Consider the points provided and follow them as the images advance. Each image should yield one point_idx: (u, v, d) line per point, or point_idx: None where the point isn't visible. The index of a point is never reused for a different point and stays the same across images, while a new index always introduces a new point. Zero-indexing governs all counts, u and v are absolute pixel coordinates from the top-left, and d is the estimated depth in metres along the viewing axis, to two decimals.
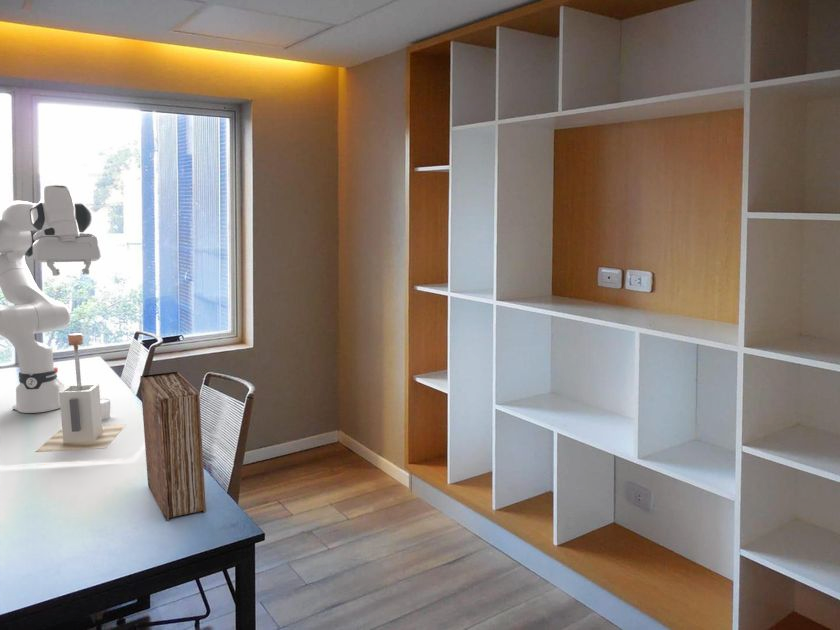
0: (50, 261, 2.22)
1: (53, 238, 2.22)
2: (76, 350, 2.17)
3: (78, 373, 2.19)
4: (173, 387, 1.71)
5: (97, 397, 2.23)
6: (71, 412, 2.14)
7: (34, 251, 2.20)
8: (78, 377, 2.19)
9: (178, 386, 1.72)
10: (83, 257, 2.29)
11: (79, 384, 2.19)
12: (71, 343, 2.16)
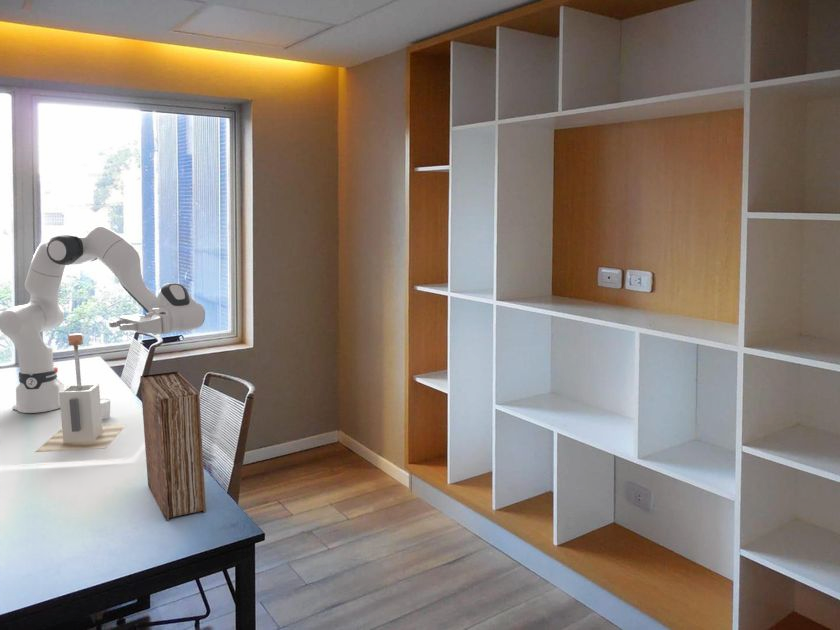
0: (136, 329, 2.23)
1: None
2: (76, 350, 2.17)
3: (78, 373, 2.19)
4: (173, 387, 1.71)
5: (97, 397, 2.23)
6: (71, 412, 2.14)
7: (151, 325, 2.23)
8: (78, 377, 2.19)
9: (178, 386, 1.72)
10: None
11: (79, 384, 2.19)
12: (71, 343, 2.16)
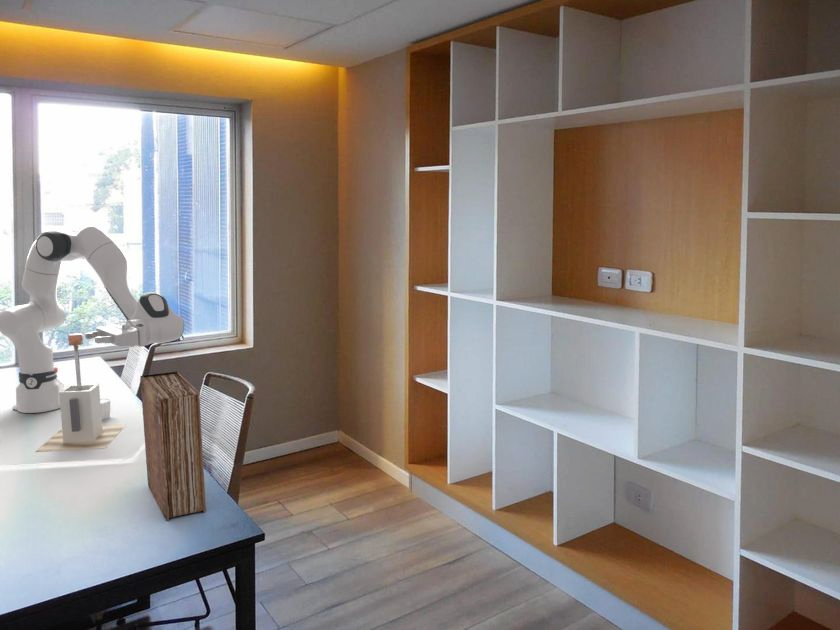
0: (111, 342, 2.19)
1: None
2: (76, 350, 2.17)
3: (78, 373, 2.19)
4: (173, 387, 1.71)
5: (97, 397, 2.23)
6: (71, 412, 2.14)
7: (127, 338, 2.18)
8: (78, 377, 2.19)
9: (178, 386, 1.72)
10: None
11: (79, 384, 2.19)
12: (71, 343, 2.16)
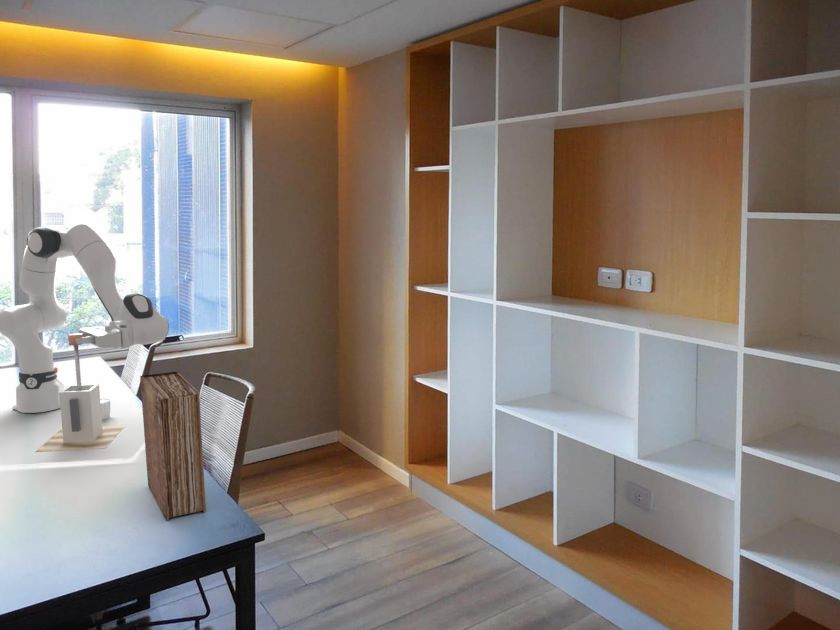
0: (91, 343, 2.17)
1: None
2: (76, 350, 2.17)
3: (78, 373, 2.19)
4: (173, 387, 1.71)
5: (97, 397, 2.23)
6: (71, 412, 2.14)
7: (110, 339, 2.15)
8: (78, 377, 2.19)
9: (178, 386, 1.72)
10: None
11: (79, 384, 2.19)
12: (71, 343, 2.16)
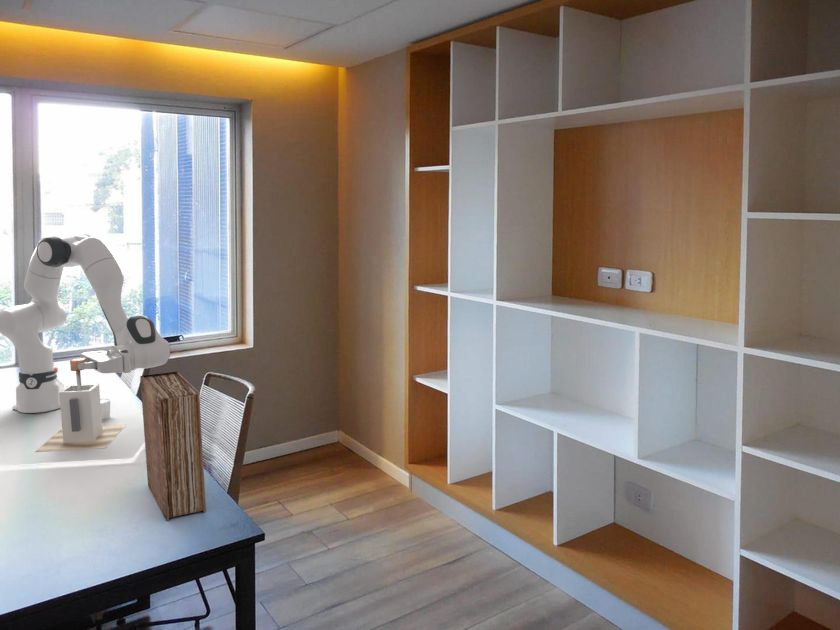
0: (93, 368, 2.18)
1: None
2: (78, 375, 2.19)
3: None
4: (173, 387, 1.71)
5: (97, 397, 2.23)
6: (71, 412, 2.14)
7: (112, 365, 2.16)
8: None
9: (178, 386, 1.72)
10: None
11: None
12: (73, 369, 2.17)
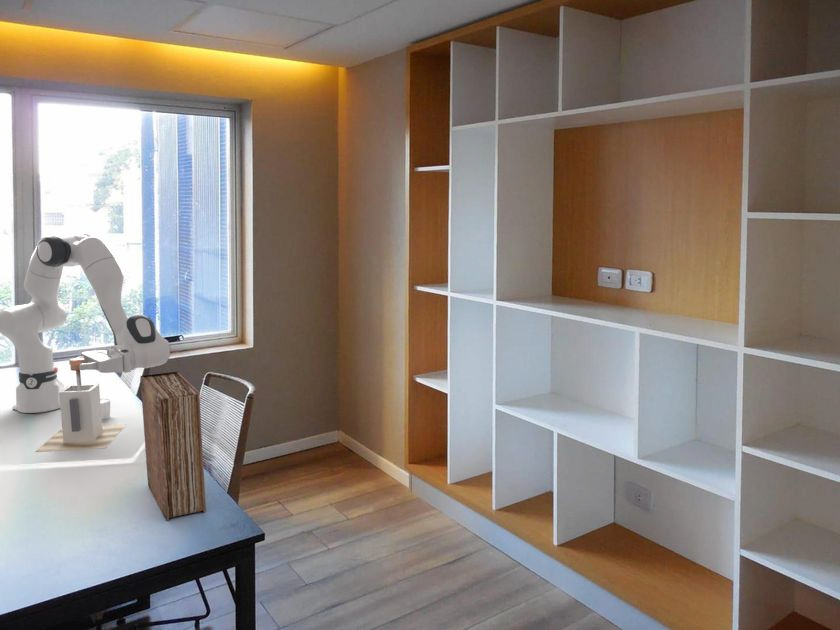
0: (96, 369, 2.16)
1: None
2: (78, 375, 2.19)
3: None
4: (173, 387, 1.71)
5: (97, 397, 2.23)
6: (71, 412, 2.14)
7: (112, 364, 2.16)
8: None
9: (178, 386, 1.72)
10: None
11: None
12: (73, 368, 2.17)
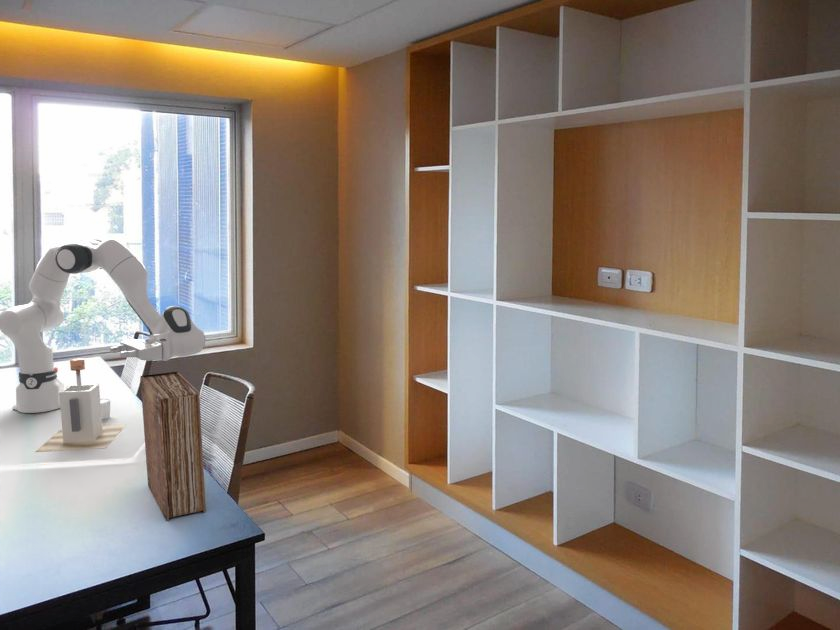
0: (136, 356, 2.26)
1: None
2: (78, 375, 2.19)
3: None
4: (173, 387, 1.71)
5: (97, 397, 2.23)
6: (71, 412, 2.14)
7: (152, 352, 2.25)
8: None
9: (178, 386, 1.72)
10: None
11: None
12: (73, 368, 2.17)
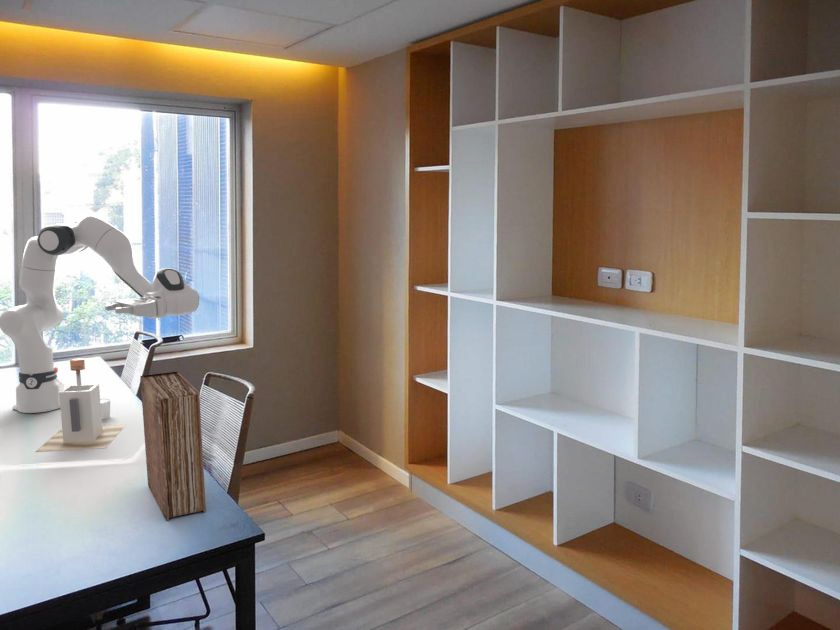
0: (131, 313, 2.29)
1: None
2: (78, 375, 2.19)
3: None
4: (173, 387, 1.71)
5: (97, 397, 2.23)
6: (71, 412, 2.14)
7: (146, 308, 2.28)
8: None
9: (178, 386, 1.72)
10: None
11: None
12: (73, 368, 2.17)
